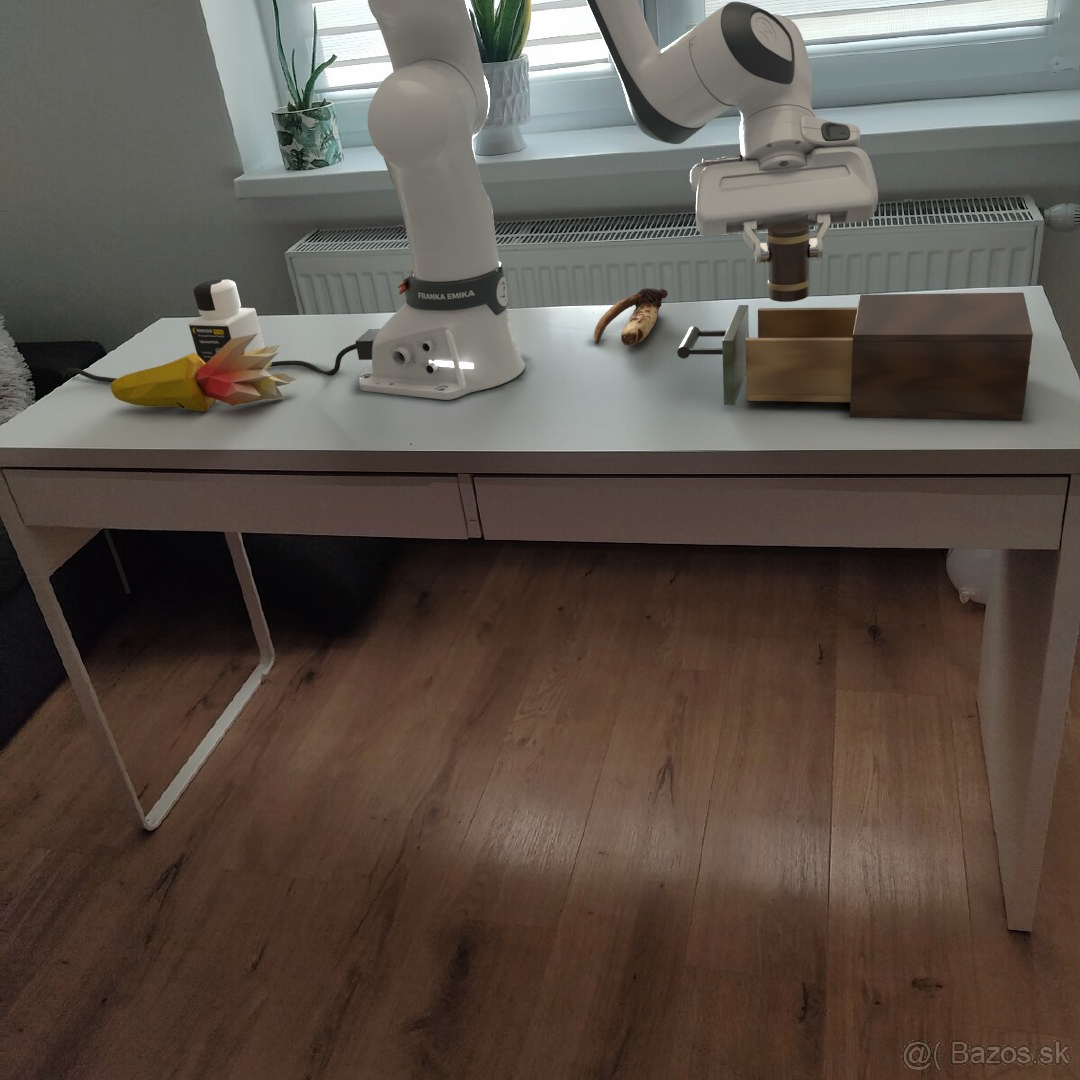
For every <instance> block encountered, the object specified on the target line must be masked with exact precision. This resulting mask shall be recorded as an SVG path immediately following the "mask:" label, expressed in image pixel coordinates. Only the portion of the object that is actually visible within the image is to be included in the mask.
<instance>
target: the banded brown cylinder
mask: <svg viewBox="0 0 1080 1080" xmlns="http://www.w3.org/2000/svg"><path fill="white" fill-rule="evenodd" d="M810 238H811V230H810V226H809V225H807V224H805V223H798V222H789V223H780V224H776V225H773V226H771V227H769V228H768V230H767V234H766V240H767V242H768V245H769V249H768V250H769V263H767V265H768V266H767V275H768V277H767V288H768V290H767V291H768V292H767V293H768V294H767V295H768V298H769V299H770V300H772V301H774V302H779V303H793V302H799V301H802V300H804V299H807V298H808V297H809V296H810V294H809V293H810V281H811V280H810V259H809V239H810Z"/></svg>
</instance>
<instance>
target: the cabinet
mask: <svg viewBox="0 0 1080 1080" xmlns="http://www.w3.org/2000/svg"><path fill="white" fill-rule="evenodd" d="M857 307H858V309H857V315H856V320H855V326H854V332H853V346H852V374H851V401H850V402H849V404H850V405H849V417H851V418H882V419H883V418H887V419H890V418H891V419H927V420H928V419H930V420H931V419H932V420H933V419H934V420H935V419H936V420H975V421H977V420H981V421H982V420H984V421H1023V420H1024V411H1025V405H1026V404H1025V403H1026V395H1027V388H1028V387H1027V385H1028V377H1029V371H1030V361H1031V354H1032V348H1033V347H1032V346H1033V337H1034V332H1033V328H1032V323H1031V320H1030V314H1029V309H1028V306H1027V302H1026V297H1025V293H1024V292H1023V291H1022V292H963V293H960V292H959V293H956V292H955V293H953V292H952V293H949V292H948V293H891V294H890V293H889V294H887V293H885V294H884V293H883V294H882V293H881V294H880V293H879V294H860V295H859V299H858V303H857Z"/></svg>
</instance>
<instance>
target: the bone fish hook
mask: <svg viewBox="0 0 1080 1080" xmlns="http://www.w3.org/2000/svg"><path fill="white" fill-rule="evenodd" d="M667 296H669V292H668V291H667V290H666V289H664V288H658V289H657V288H654V287H643V288H641V289H640V290H638V291H637V292H636V293H633V294H630V296H627V297H624V298H623V299H621V300H619V301H618V302H616V303H615V304H613V305H612V306H611V307H610V308H609V309H608V310H607V311H606V312H605V313H604V314H603V315H602V316H601V318H600V319H598V321H597V324H596V325H595V329H594V333H593V341H594V344H598V343H599V342H600V340H601V338H602V336H603V333H604V332H605V330H606V328H607V327H608V325H609V324H611V322H613V321H614V320H615V319H616V318H617V317H618V316H619V315H620V314H622V313H623V312H624V311H627V310H628V309H629V308H632V307H633V306H634V307H635V308H634V310H633V311H632V314H631V315H630V317H629V318H628V320H627V322H626V325H625V326H624V328H623V329H622V332H621V334H620V341H621V343H622V344H623V345H624V346H633V345H637V344H640V343H641V342H642V341H643V340H644V339H646V337H648V335H649V334H650V332H651V330H652V329H653V328H654V326H655V324H656V322H657V320H658V316H659V312H660V311H659V310H660V308H661V307H662V300H663V299H666V298H667Z"/></svg>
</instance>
